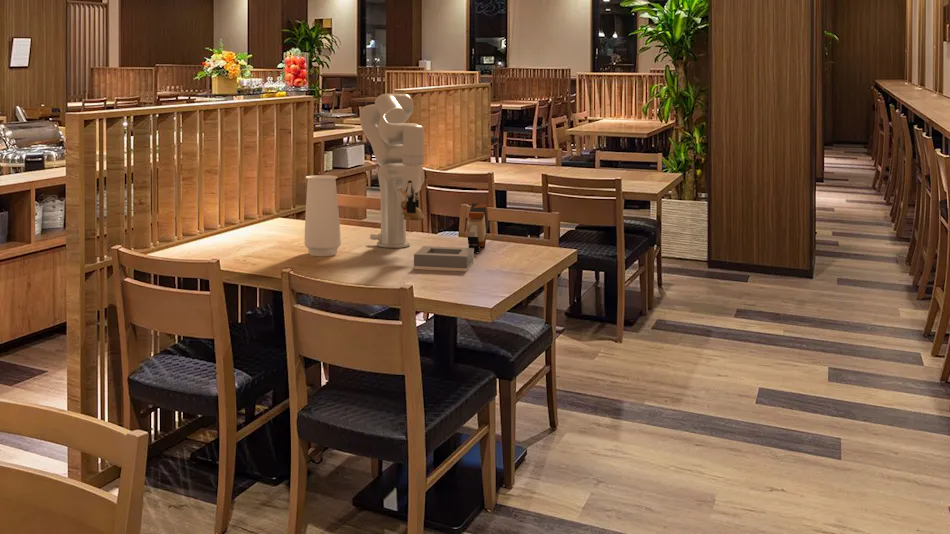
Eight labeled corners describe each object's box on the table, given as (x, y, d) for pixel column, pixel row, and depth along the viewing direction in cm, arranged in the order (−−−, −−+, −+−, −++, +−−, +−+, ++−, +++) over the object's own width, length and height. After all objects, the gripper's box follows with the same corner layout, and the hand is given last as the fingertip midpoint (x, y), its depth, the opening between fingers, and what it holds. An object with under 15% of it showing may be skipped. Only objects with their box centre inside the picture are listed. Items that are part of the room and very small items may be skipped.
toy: (476, 228, 324) (486, 198, 340) (461, 227, 325) (471, 198, 341) (480, 263, 334) (489, 232, 349) (465, 262, 335) (474, 232, 350)
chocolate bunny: (410, 217, 325) (410, 189, 322) (426, 219, 320) (426, 191, 318) (399, 218, 320) (399, 191, 318) (415, 221, 315) (415, 193, 313)
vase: (301, 251, 328) (299, 175, 323) (336, 249, 333) (334, 174, 328) (309, 258, 317) (307, 179, 311) (345, 255, 322) (343, 178, 316)
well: (413, 269, 300) (413, 254, 299) (423, 260, 316) (423, 246, 315) (466, 271, 298) (467, 256, 297) (473, 262, 313) (473, 248, 312)
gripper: (407, 157, 324) (407, 207, 328) (397, 162, 308) (397, 214, 312) (428, 158, 323) (427, 208, 327) (418, 163, 307) (418, 215, 311)
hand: (412, 211), depth 319 cm, fingers closed on chocolate bunny, 4 cm apart
